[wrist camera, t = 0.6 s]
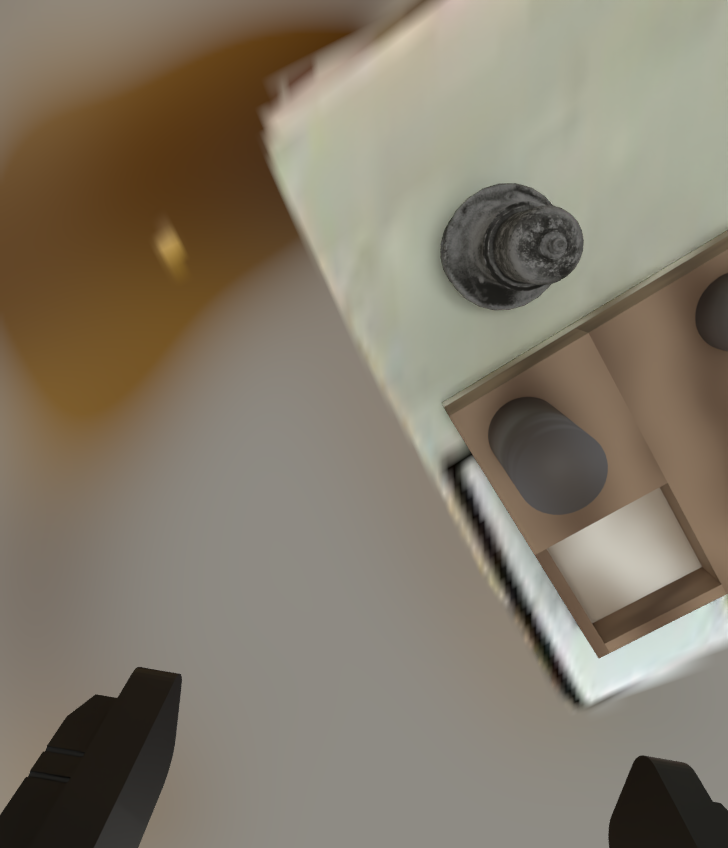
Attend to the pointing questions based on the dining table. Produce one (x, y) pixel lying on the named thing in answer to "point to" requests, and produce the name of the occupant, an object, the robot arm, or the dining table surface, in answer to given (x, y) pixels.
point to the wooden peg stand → (619, 450)
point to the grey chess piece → (509, 246)
